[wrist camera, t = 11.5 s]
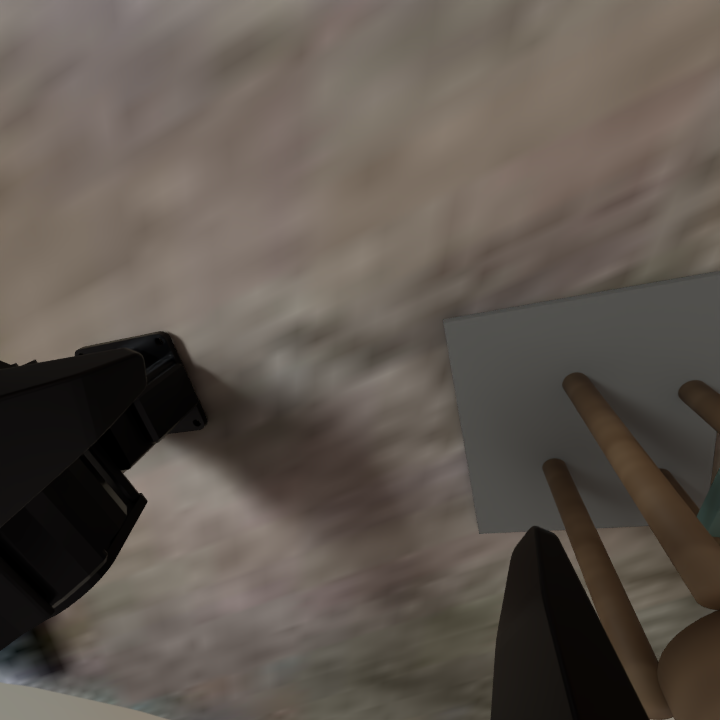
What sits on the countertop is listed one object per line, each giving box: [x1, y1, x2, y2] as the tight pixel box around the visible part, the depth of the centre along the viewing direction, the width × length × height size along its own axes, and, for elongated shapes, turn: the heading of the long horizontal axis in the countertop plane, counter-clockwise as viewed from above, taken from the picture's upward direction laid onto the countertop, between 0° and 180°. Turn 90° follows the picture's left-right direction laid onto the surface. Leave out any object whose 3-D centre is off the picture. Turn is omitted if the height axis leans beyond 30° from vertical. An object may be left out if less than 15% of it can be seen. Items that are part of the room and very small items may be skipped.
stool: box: [542, 372, 720, 720], centre depth 15 cm, size 6×6×12 cm
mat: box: [443, 271, 720, 534], centre depth 21 cm, size 12×14×1 cm
